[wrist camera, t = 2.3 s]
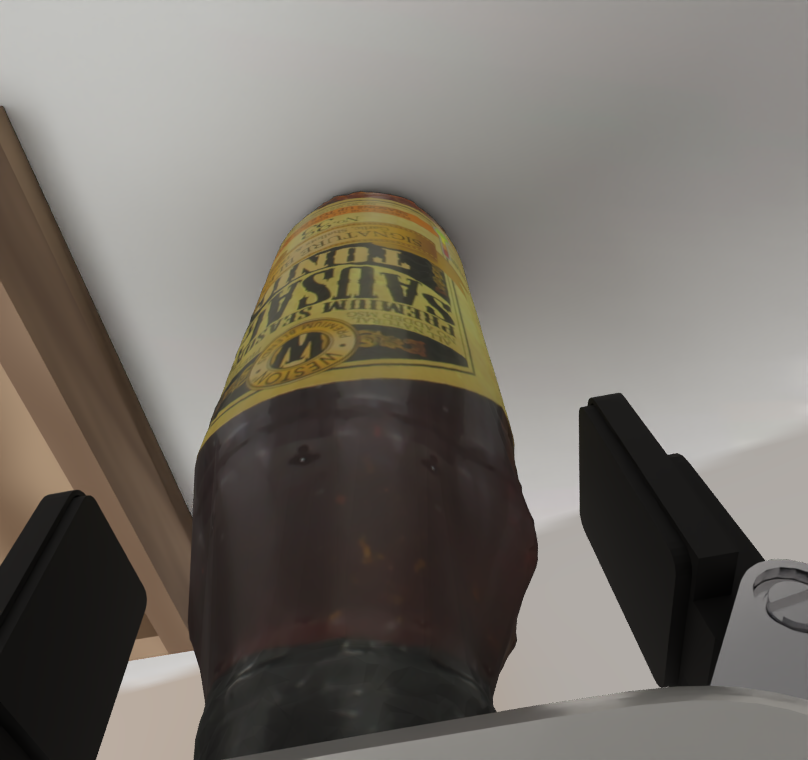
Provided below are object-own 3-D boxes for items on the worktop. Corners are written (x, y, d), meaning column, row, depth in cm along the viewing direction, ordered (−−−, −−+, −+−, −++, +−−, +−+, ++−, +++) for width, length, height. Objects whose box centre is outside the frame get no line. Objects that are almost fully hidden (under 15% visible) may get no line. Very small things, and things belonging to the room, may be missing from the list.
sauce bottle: (428, 155, 19) (951, 1185, 2) (475, 323, 23) (843, 1277, 6) (236, 220, 20) (-424, 1399, 3) (308, 375, 23) (184, 1373, 6)
